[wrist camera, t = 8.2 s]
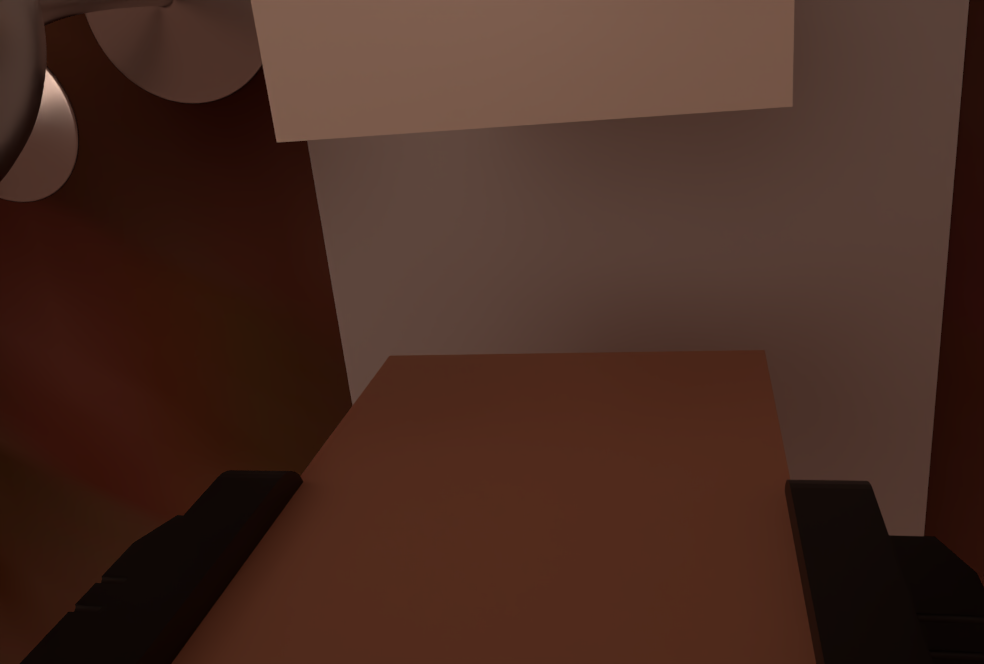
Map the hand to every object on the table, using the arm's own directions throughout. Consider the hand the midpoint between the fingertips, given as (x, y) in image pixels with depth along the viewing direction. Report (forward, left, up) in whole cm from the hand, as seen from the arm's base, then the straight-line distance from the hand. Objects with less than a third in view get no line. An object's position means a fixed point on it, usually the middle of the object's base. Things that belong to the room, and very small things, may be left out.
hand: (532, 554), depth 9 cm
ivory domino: (0, -5, -11) cm, 12 cm away
